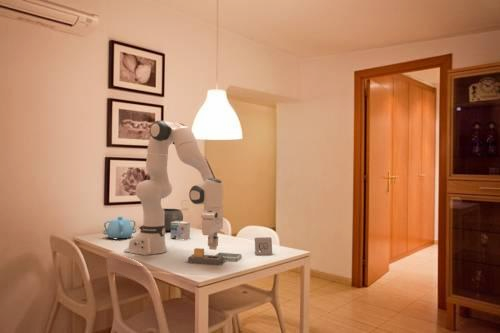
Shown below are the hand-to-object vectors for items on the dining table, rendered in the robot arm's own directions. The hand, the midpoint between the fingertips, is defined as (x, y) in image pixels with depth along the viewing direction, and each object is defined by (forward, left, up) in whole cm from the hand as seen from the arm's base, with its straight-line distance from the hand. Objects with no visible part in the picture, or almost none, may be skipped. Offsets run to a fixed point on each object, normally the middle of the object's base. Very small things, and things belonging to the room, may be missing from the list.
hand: (212, 241), depth 177 cm
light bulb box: (-40, +53, -11) cm, 68 cm away
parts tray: (+5, +9, -11) cm, 15 cm away
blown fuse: (0, 0, -4) cm, 4 cm away
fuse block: (-3, 0, -11) cm, 12 cm away
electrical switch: (+19, +28, -11) cm, 35 cm away
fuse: (-7, 0, -10) cm, 12 cm away
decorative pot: (-77, +43, -11) cm, 89 cm away
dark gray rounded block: (-60, +77, -11) cm, 99 cm away
